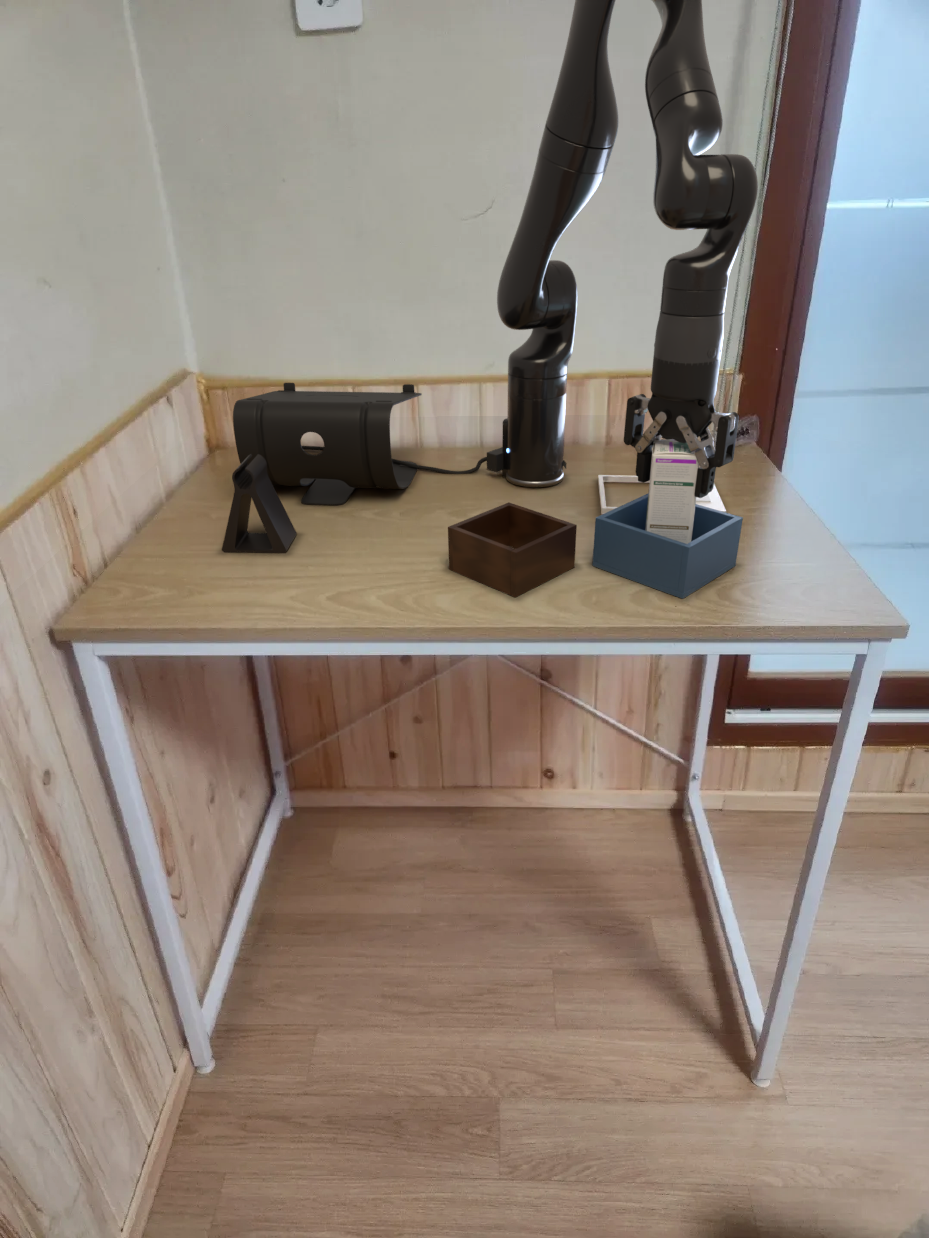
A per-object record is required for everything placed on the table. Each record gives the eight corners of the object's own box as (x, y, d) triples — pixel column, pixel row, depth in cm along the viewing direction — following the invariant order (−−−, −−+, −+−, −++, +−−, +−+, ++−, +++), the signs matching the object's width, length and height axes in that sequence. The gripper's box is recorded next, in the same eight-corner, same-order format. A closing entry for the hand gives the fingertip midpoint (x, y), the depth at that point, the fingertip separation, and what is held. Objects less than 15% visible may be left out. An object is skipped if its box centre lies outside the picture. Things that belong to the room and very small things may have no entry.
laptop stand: (238, 506, 131) (223, 406, 123) (284, 457, 151) (274, 369, 144) (400, 511, 128) (395, 409, 120) (425, 460, 148) (422, 371, 141)
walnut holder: (448, 569, 110) (447, 526, 107) (508, 542, 117) (508, 502, 114) (515, 597, 103) (516, 552, 100) (574, 567, 110) (576, 524, 107)
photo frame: (726, 510, 123) (601, 507, 125) (725, 517, 124) (601, 514, 125) (711, 476, 136) (598, 473, 137) (710, 482, 136) (597, 480, 138)
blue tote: (592, 566, 110) (595, 517, 107) (647, 537, 118) (651, 491, 115) (682, 599, 102) (689, 547, 98) (735, 566, 110) (743, 517, 106)
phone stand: (297, 535, 120) (287, 454, 114) (286, 553, 115) (275, 469, 109) (235, 534, 121) (222, 453, 115) (222, 552, 116) (207, 468, 110)
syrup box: (689, 565, 106) (704, 454, 99) (641, 562, 107) (652, 451, 100) (687, 547, 111) (701, 439, 104) (642, 544, 112) (652, 437, 105)
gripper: (761, 356, 95) (739, 494, 103) (652, 340, 104) (641, 468, 112) (726, 368, 90) (707, 511, 98) (616, 349, 99) (607, 482, 107)
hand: (672, 488), depth 105 cm, fingers closed on syrup box, 7 cm apart
